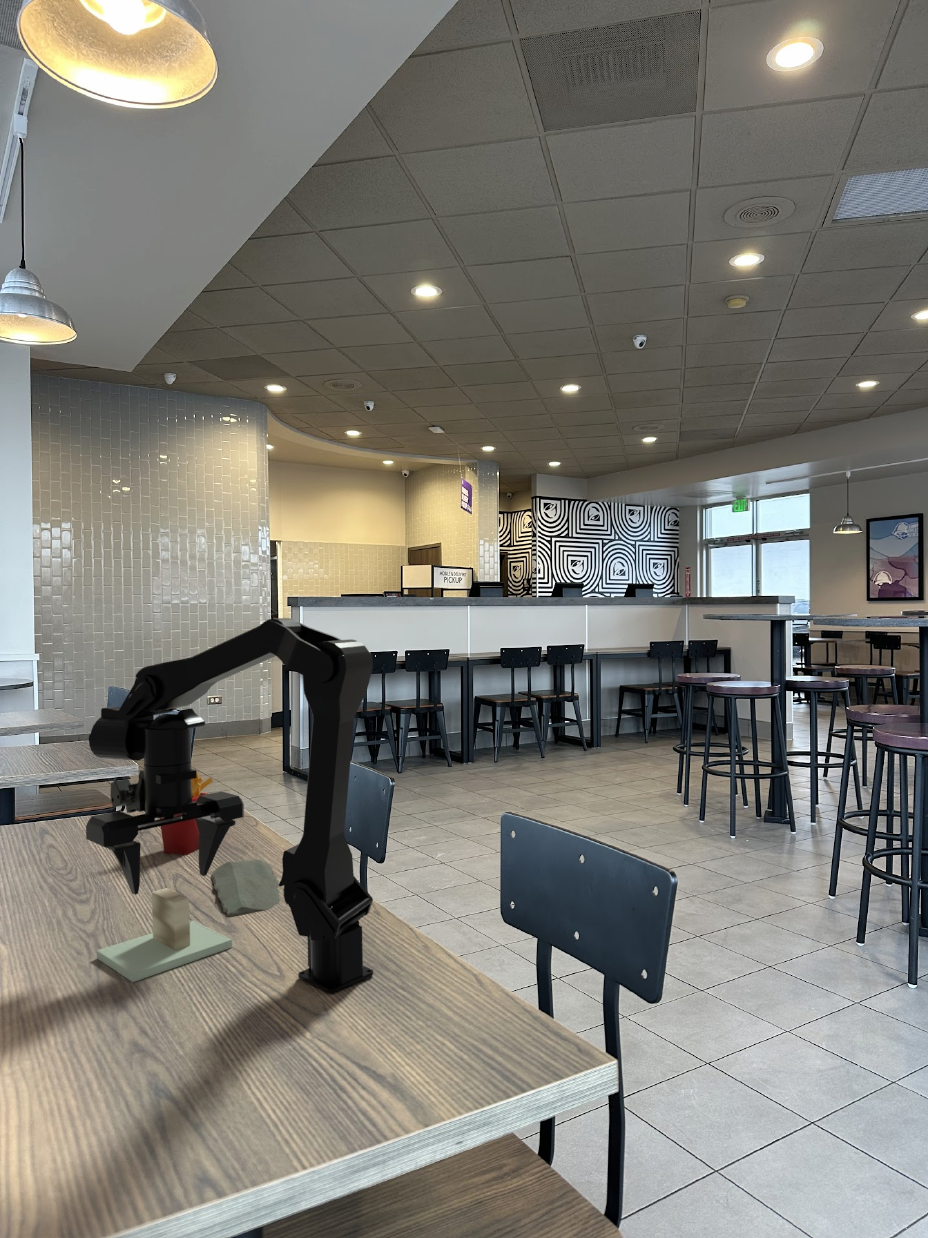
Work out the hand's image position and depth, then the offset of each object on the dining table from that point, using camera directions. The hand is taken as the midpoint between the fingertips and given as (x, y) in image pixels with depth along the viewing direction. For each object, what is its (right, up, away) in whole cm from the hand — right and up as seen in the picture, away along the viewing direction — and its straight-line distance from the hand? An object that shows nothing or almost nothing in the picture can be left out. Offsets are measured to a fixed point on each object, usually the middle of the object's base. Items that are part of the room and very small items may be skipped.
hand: (170, 884), depth 104 cm
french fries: (-12, -9, +45) cm, 47 cm away
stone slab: (+4, -9, +23) cm, 25 cm away
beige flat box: (0, -8, 0) cm, 8 cm away
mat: (0, -9, -1) cm, 9 cm away
